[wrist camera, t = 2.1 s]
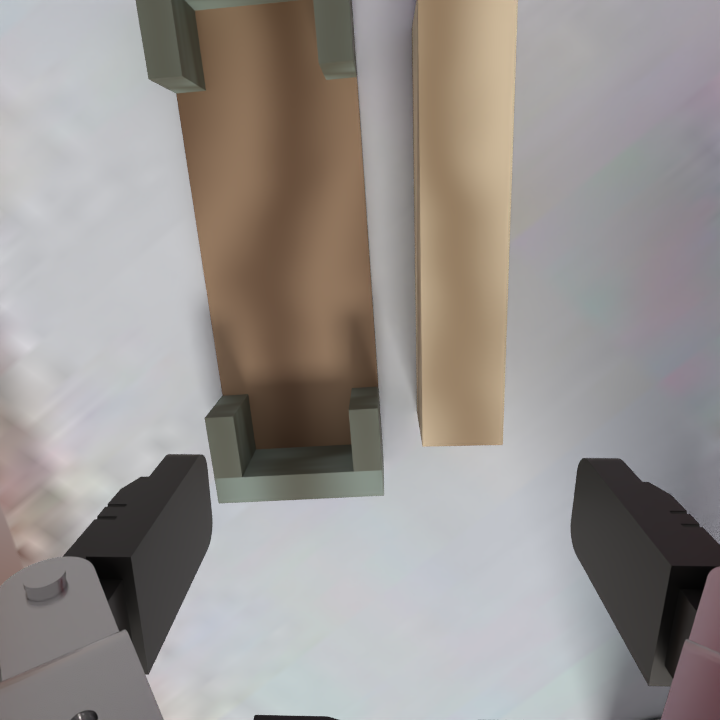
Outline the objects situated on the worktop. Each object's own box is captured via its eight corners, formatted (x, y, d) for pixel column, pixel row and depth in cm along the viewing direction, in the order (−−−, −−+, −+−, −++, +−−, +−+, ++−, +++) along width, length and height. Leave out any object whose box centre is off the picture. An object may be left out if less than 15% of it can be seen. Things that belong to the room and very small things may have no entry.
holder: (349, -37, 26) (343, -77, 22) (383, 461, 33) (383, 495, 29) (163, -18, 26) (126, -55, 23) (237, 468, 34) (218, 503, 30)
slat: (493, 25, 27) (518, -13, 22) (484, 408, 32) (502, 444, 28) (411, 29, 27) (417, -7, 22) (416, 409, 33) (422, 446, 28)
